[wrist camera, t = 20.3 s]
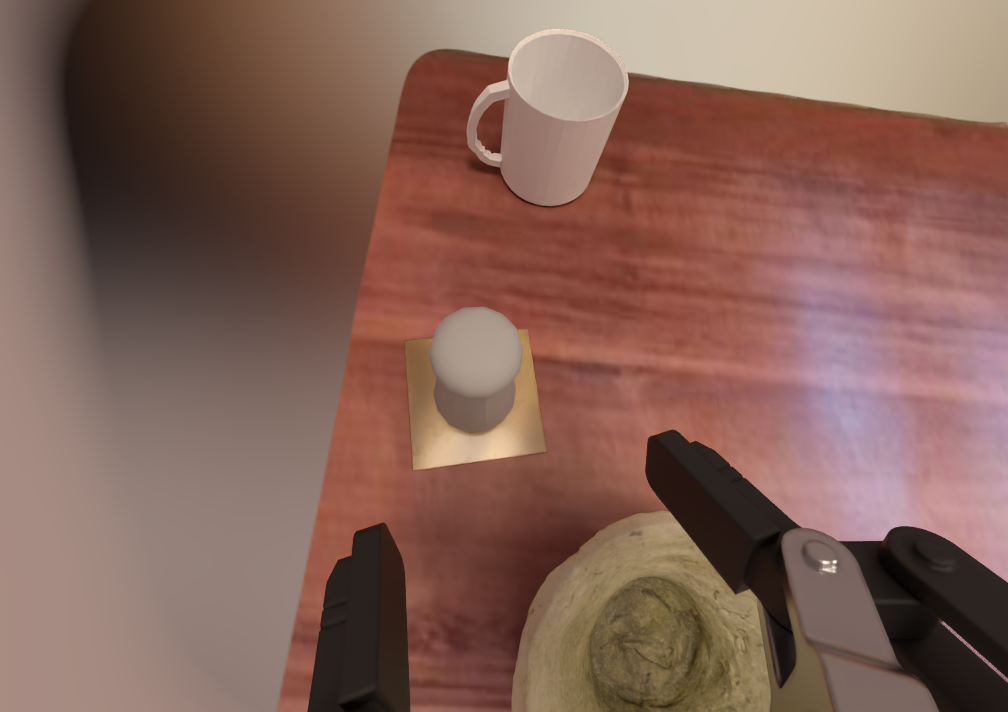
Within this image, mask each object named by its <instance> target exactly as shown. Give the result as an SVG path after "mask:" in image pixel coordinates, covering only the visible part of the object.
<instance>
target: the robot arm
mask: <svg viewBox="0 0 1008 712" xmlns="http://www.w3.org/2000/svg"><path fill="white" fill-rule="evenodd" d="M645 472H646V477H647V480H648V483H649V485H650V487H651V488H652V490H653V491H654V492H655V494H656V495H657V496H658V498H659V499H660V500H661V501H662V503H663V504H664V505H665V506H666V508H667V509H668V510H669V511H670V513H671V514H672V515H673V516H674V518H675V519H676V520H677V522H678V523H679V524H680V525H681V527H682V528H683V529H684V530H685V532H686V533H687V534H688V535H689V537H690V538H691V539H692V540H693V542H694V543H695V544H696V546H697V547H698V548H699V549H700V551H701V552H702V553H703V554H704V556H705V557H706V558H707V559H708V561H709V562H710V563H711V565H712V566H713V567H714V568H715V570H716V571H717V572H718V573H719V575H720V576H721V577H722V578H723V580H724V581H725V582H726V583H727V585H728V586H729V587H730V589H731V590H732V591H733V592H734V594H735V595H737V594H739V593H742V592H744V591H746V590H749V589H750V590H751V591H752V592H753V593H754V595H755V596H756V597H757V598H758V599H757V608H758V615H759V621H760V627H761V633H762V639H763V646H764V652H765V658H766V664H767V671H768V677H769V683H770V692H771V703H770V712H1008V683H1007V682H1006V681H1005V680H1004V679H1003V678H1002V677H1001V676H999V675H998V674H997V673H996V672H995V671H994V670H993V669H992V668H990V667H989V666H988V665H987V664H986V663H985V662H984V661H983V660H982V659H980V658H979V657H978V656H977V655H976V654H975V653H974V652H973V651H971V650H970V649H969V648H968V647H967V646H966V645H965V644H964V643H963V642H961V641H960V640H959V639H958V638H957V637H956V636H955V635H954V634H952V633H951V632H950V631H949V630H948V629H947V628H946V627H945V626H944V625H942V624H941V622H942V621H944V622H945V623H946V624H947V625H948V626H950V627H951V628H952V629H953V630H954V631H955V632H956V633H957V634H959V635H960V636H961V637H962V638H963V639H964V640H965V641H966V642H968V643H969V644H970V645H971V646H972V647H973V648H974V649H976V650H977V651H978V652H979V653H980V654H981V655H982V656H983V657H985V658H986V659H987V660H988V661H989V662H990V663H991V664H992V665H994V666H995V667H996V668H997V669H998V670H999V671H1000V672H1001V673H1003V674H1004V675H1005V676H1006V677H1007V678H1008V583H1007V582H1006V581H1005V580H1003V579H1002V578H1000V577H999V576H998V575H996V574H995V573H994V572H992V571H991V570H989V569H988V568H987V567H985V566H984V565H983V564H981V563H980V562H978V561H977V560H976V559H974V558H973V557H972V556H970V555H969V554H967V553H966V552H965V551H963V550H962V549H961V548H959V547H958V546H956V545H955V544H953V543H952V542H950V541H949V540H947V539H945V538H943V537H941V536H939V535H937V534H935V533H932V532H930V531H927V530H924V529H920V528H915V527H908V526H901V527H896V528H893V529H891V530H890V531H889V532H888V534H887V536H886V537H885V539H884V540H883V541H837V540H836V539H834V538H832V537H831V536H829V535H827V534H825V533H822V532H820V531H817V530H813V529H808V528H802V527H800V526H799V525H797V524H796V523H795V522H794V521H792V520H791V519H790V518H789V517H788V516H787V515H786V514H784V513H783V512H782V511H781V510H780V509H779V508H778V507H777V506H776V505H774V504H773V503H772V502H771V501H770V500H769V499H768V498H767V497H766V496H764V495H763V494H762V493H761V492H760V491H759V490H758V489H757V488H756V487H755V486H753V485H752V484H751V483H750V482H749V481H748V480H747V479H746V478H743V477H742V475H741V474H740V473H739V472H738V471H737V470H736V469H735V468H733V467H731V466H730V464H729V463H728V462H727V461H726V460H725V459H723V458H722V457H721V456H720V455H719V454H718V453H717V452H716V451H714V450H712V449H711V448H709V447H707V446H705V445H703V444H701V443H699V442H697V441H695V442H692V443H689V442H688V441H687V440H686V439H685V438H684V437H683V436H682V435H681V434H680V433H679V432H677V431H676V430H669V431H666V432H663V433H660V434H657V435H654V436H651V437H649V438H648V443H647V456H646V468H645ZM323 607H324V611H322V618H321V624H320V626H321V631H319V638H318V645H317V652H316V658H315V665H314V672H313V679H312V685H311V692H310V699H309V706H308V711H307V712H410V691H409V665H408V638H407V612H406V585H405V570H404V564H403V560H402V557H401V554H400V552H399V550H398V548H397V546H396V544H395V541H394V539H393V537H392V535H391V533H390V531H389V529H388V527H387V525H386V524H385V523H380V524H377V525H374V526H371V527H368V528H365V529H362V530H359V531H356V532H355V534H354V537H353V546H352V556H349V557H346V558H343V559H340V560H338V561H337V563H336V565H335V567H334V569H333V571H332V573H331V575H330V577H329V579H328V581H327V584H326V591H325V597H324V604H323Z"/></svg>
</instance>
